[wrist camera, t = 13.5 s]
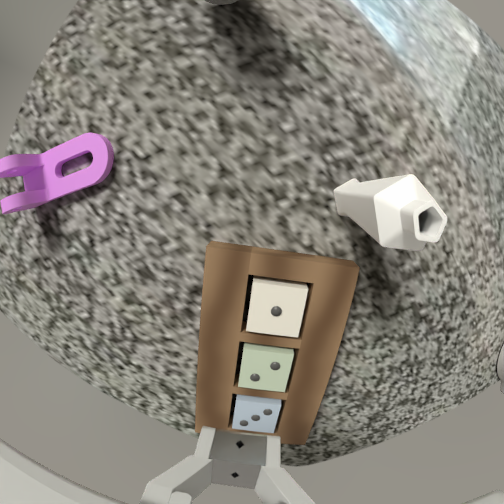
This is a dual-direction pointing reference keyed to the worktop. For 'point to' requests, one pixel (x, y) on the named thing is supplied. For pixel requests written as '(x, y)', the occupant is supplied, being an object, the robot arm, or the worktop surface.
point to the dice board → (234, 330)
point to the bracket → (55, 171)
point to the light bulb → (221, 1)
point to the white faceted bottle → (392, 211)
